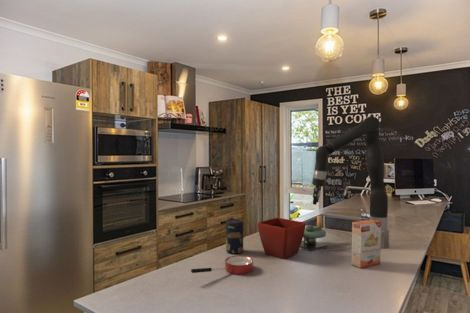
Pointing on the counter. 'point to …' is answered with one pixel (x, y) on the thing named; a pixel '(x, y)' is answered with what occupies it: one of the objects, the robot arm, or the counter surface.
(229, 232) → the canister
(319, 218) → the handwheel
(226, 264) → the frying pan
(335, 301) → the counter surface
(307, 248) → the pedestal
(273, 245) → the plant pot
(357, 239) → the cracker box
